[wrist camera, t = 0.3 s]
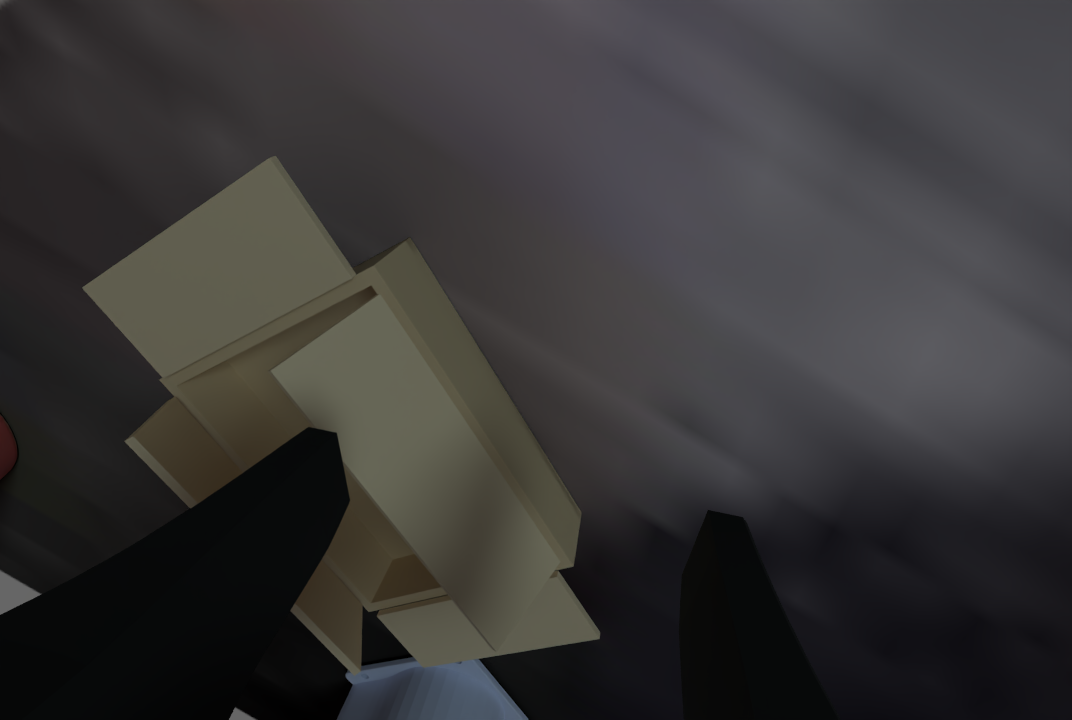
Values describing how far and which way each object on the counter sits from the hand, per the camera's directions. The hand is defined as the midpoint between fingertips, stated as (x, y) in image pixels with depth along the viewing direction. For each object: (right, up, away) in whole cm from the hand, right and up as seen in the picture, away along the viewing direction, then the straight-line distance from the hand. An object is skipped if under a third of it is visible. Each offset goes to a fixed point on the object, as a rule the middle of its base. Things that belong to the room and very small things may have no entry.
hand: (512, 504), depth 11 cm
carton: (-6, 0, +14) cm, 15 cm away
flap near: (-3, -1, +8) cm, 8 cm away
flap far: (-10, -4, +11) cm, 15 cm away
